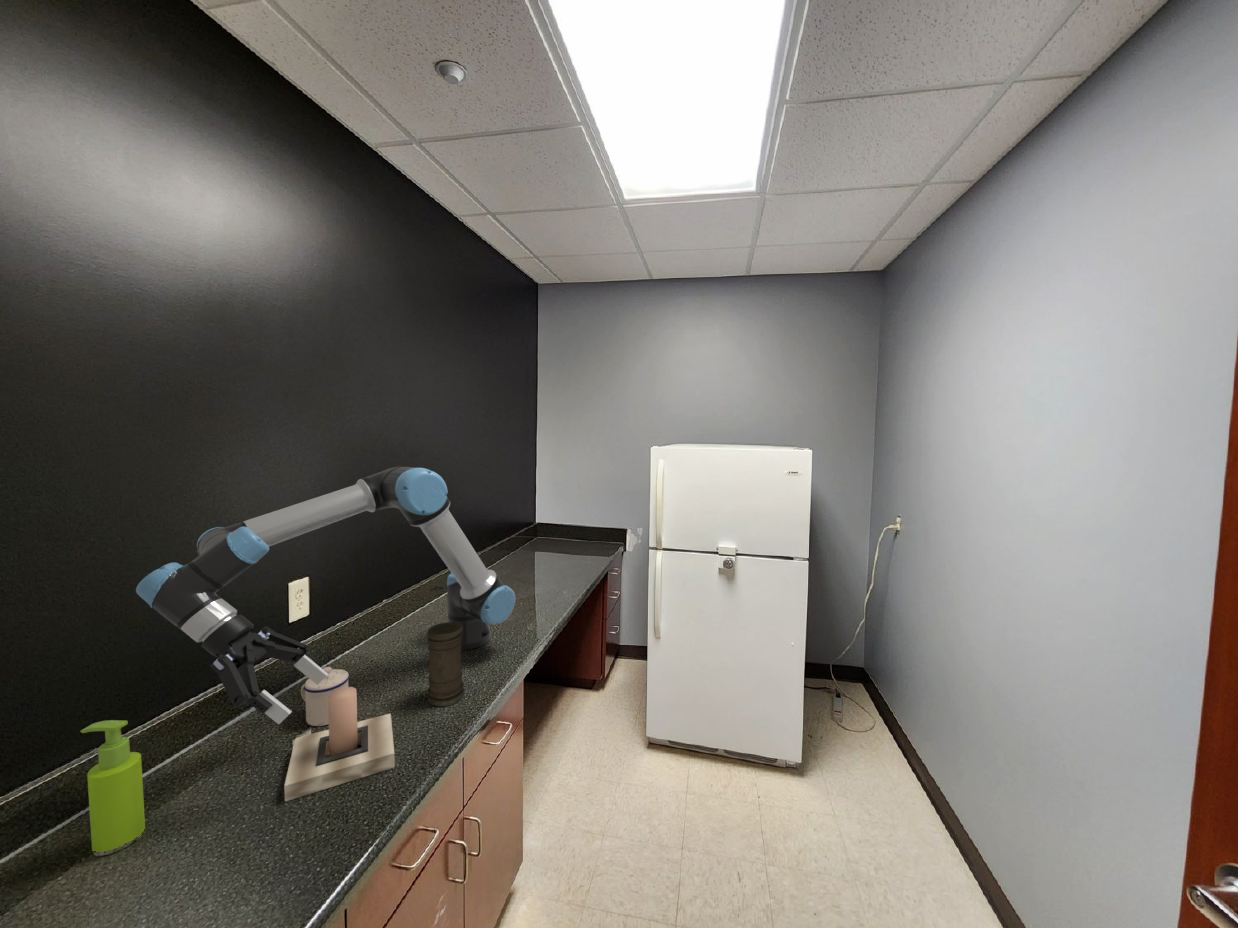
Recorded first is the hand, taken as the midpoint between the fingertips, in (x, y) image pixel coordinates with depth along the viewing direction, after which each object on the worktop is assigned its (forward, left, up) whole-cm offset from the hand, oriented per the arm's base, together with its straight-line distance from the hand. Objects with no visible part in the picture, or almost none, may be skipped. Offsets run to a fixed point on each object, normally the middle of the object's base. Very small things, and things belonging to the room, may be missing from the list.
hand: (305, 697), depth 92 cm
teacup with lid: (-1, -18, -14) cm, 23 cm away
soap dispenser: (+26, +6, -14) cm, 30 cm away
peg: (-6, +2, -14) cm, 16 cm away
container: (-28, -12, -14) cm, 34 cm away
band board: (-6, +2, -14) cm, 16 cm away
